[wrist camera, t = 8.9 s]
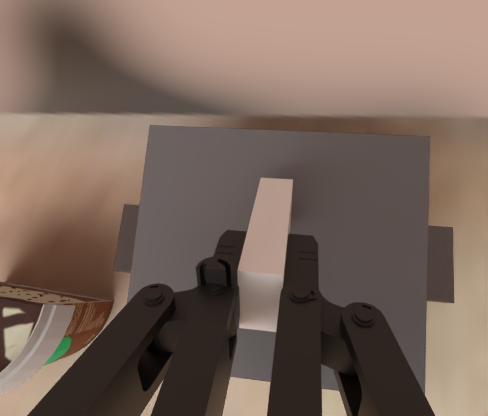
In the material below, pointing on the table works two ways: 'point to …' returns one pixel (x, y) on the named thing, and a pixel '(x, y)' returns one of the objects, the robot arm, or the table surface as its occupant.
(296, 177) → the pot lid
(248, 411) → the table surface
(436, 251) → the rectangular cooking pot
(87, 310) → the food container
